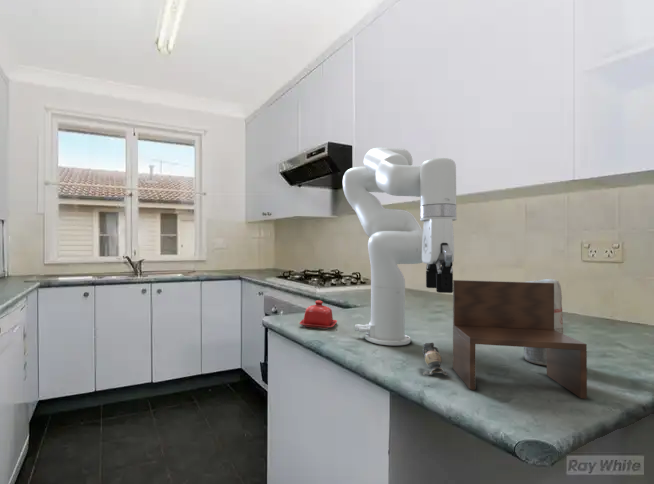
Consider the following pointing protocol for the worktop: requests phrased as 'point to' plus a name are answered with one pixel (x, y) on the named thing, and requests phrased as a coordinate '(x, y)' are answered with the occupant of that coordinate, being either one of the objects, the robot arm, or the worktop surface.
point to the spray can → (541, 353)
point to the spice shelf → (514, 328)
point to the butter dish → (318, 316)
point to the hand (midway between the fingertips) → (438, 290)
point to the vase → (433, 358)
